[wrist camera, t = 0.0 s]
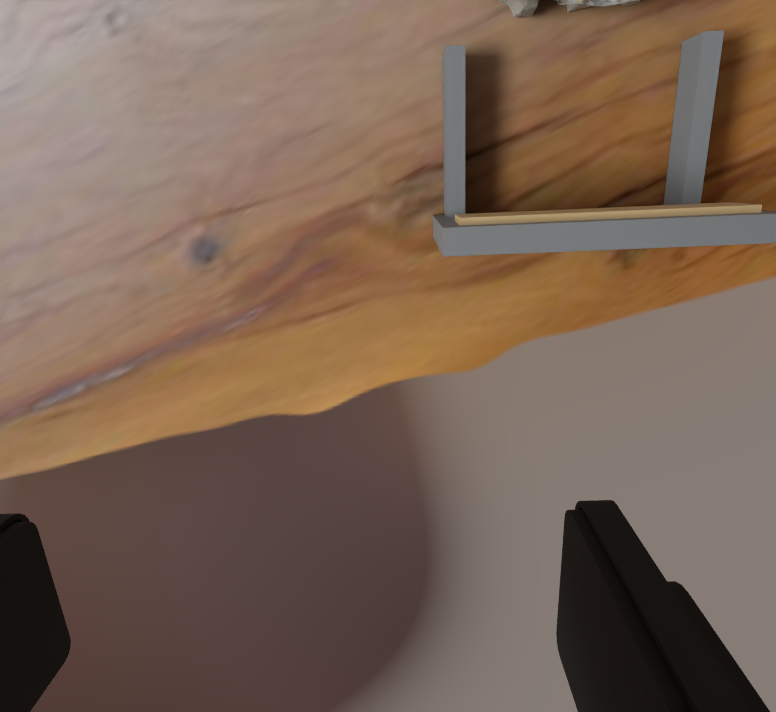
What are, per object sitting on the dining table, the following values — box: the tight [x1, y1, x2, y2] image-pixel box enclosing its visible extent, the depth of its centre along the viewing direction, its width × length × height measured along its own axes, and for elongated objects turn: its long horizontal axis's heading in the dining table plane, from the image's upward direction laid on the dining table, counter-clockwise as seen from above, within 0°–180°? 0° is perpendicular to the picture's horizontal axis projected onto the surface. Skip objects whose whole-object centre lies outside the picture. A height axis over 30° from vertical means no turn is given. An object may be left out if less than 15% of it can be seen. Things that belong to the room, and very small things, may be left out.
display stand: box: [433, 30, 776, 256], centre depth 31 cm, size 12×18×10 cm, turn 93°
